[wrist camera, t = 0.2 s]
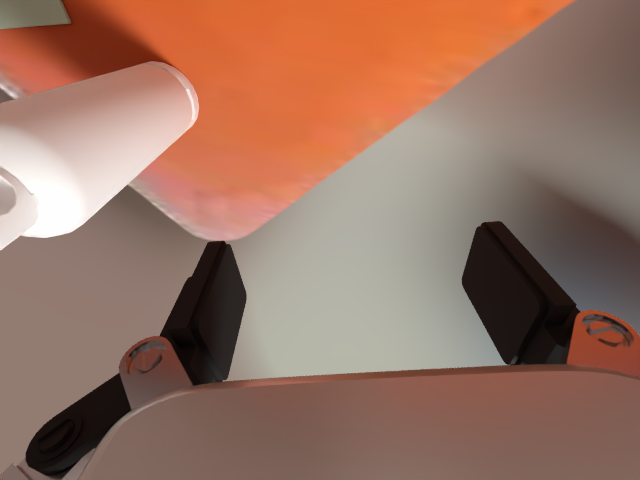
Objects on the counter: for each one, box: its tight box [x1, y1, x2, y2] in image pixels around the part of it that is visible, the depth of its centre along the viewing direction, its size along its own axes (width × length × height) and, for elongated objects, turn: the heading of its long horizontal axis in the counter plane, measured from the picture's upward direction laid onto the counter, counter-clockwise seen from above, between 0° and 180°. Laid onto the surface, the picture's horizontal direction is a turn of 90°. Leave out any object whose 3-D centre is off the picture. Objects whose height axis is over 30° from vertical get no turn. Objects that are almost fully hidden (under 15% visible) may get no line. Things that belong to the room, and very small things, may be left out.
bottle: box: [0, 61, 199, 250], centre depth 25 cm, size 8×8×28 cm
